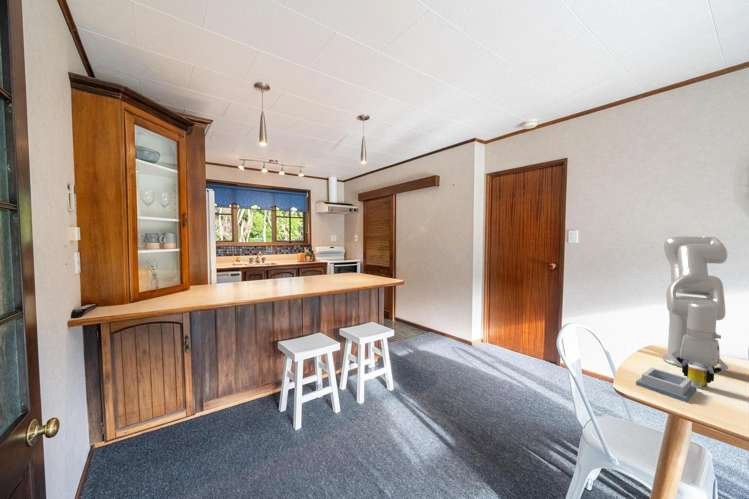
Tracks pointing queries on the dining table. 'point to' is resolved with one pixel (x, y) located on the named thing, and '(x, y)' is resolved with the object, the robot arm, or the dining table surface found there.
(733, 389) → the dining table surface
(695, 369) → the supplement bottle
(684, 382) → the tray
